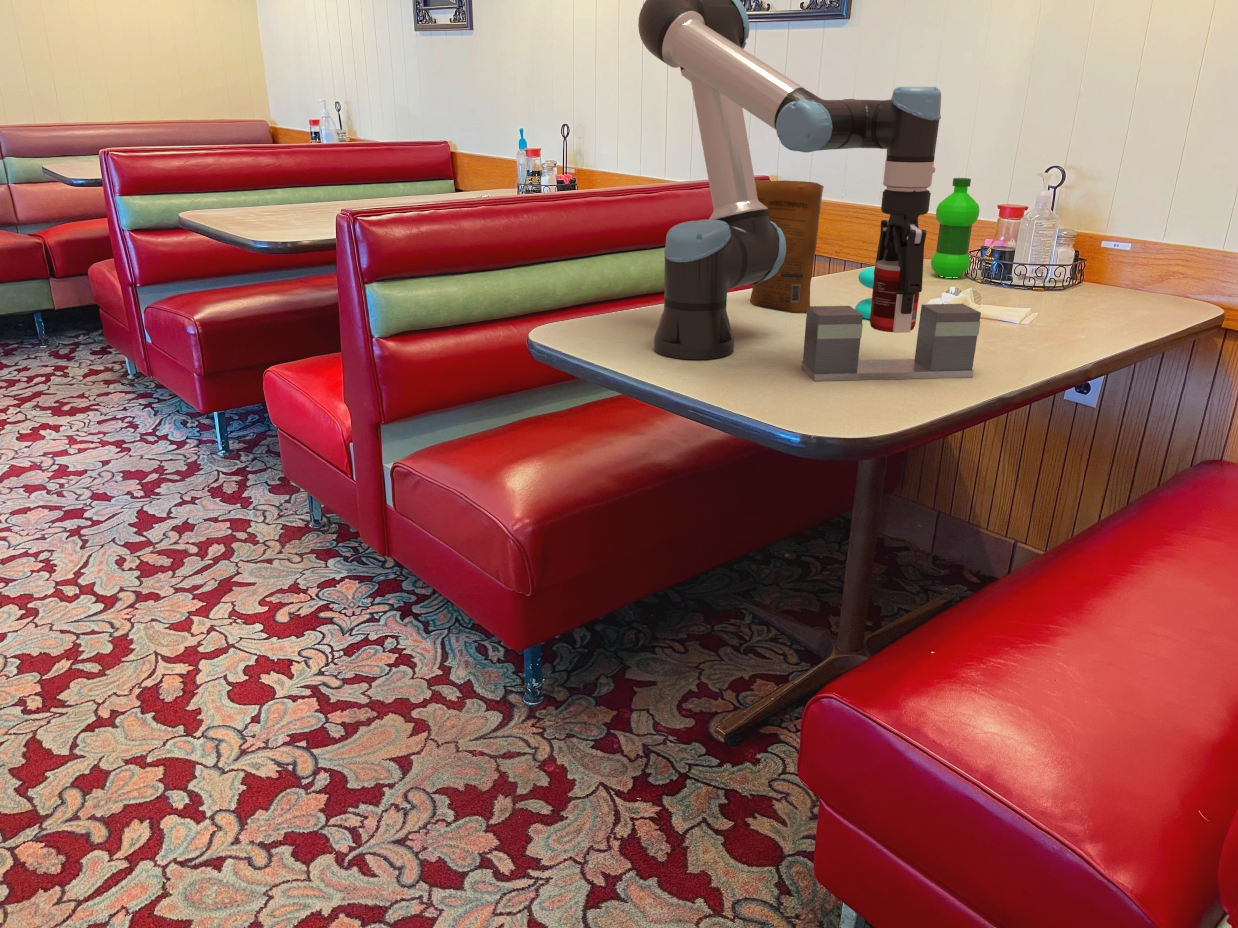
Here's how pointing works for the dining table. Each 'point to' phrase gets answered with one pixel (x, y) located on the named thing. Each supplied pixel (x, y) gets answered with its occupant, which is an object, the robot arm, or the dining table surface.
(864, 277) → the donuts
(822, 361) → the grey double block stand
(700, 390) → the dining table surface
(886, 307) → the canned food
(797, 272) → the pancake mix bag
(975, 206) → the plastic bottle
